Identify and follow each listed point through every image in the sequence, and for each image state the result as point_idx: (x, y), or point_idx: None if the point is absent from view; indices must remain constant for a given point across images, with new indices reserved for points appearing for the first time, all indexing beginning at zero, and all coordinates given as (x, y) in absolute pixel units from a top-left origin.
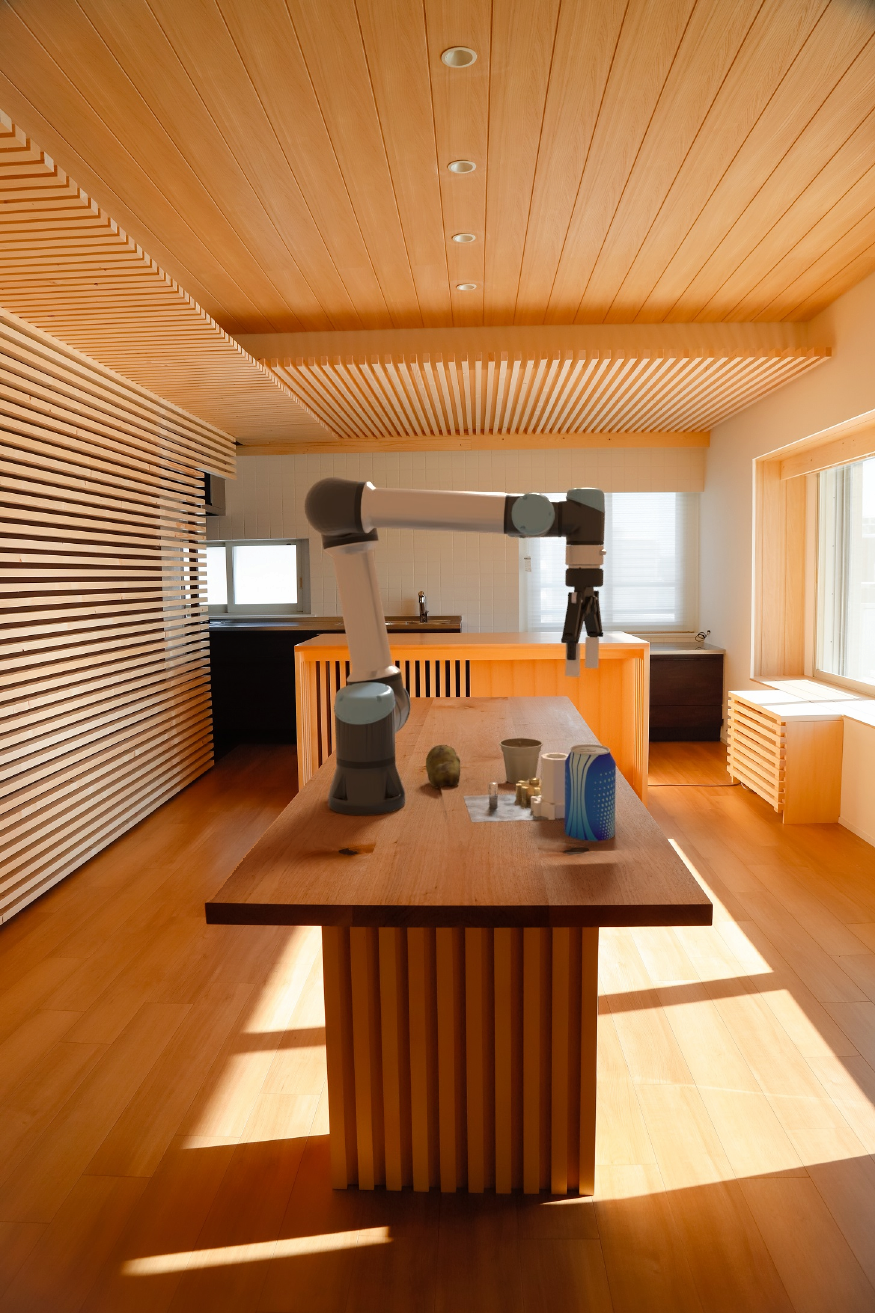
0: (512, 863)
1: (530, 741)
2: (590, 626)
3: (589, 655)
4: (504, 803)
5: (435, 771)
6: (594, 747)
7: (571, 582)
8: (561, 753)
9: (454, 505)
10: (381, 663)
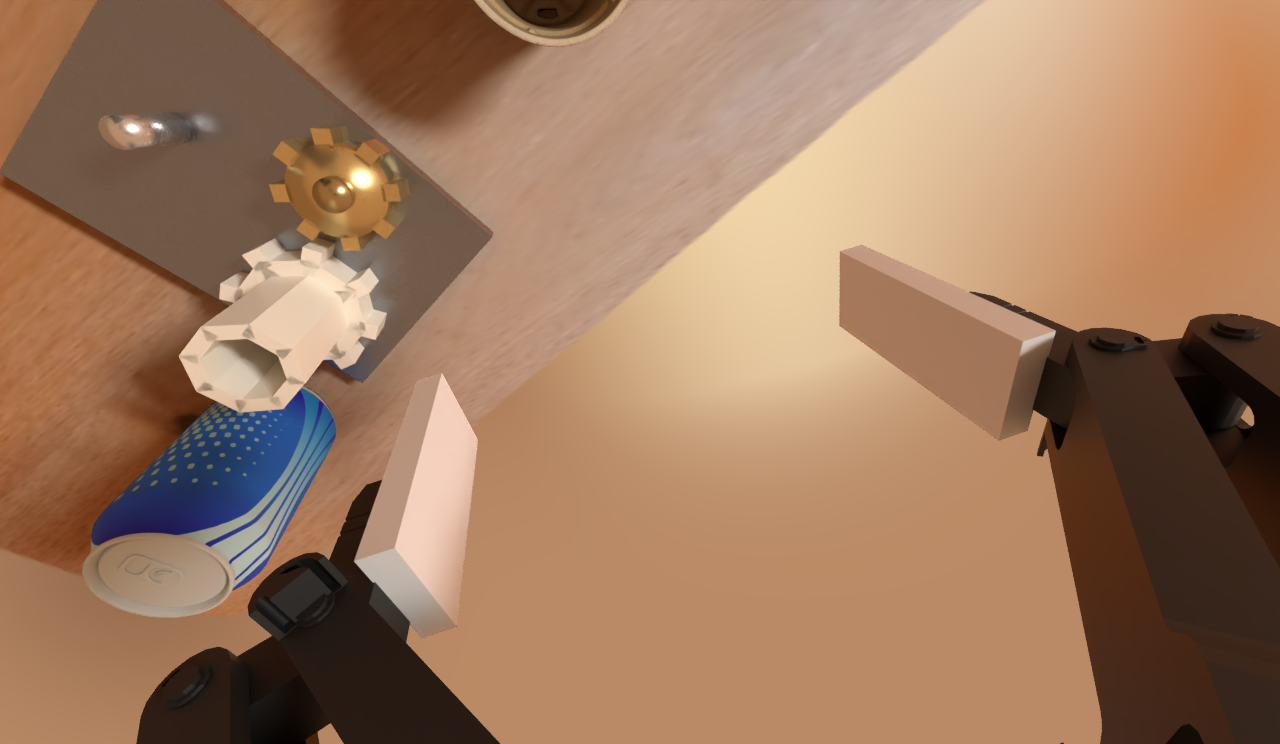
0: (5, 390)
1: None
2: (1083, 480)
3: (894, 310)
4: (232, 137)
5: None
6: (208, 561)
7: None
8: (290, 360)
9: None
10: None
